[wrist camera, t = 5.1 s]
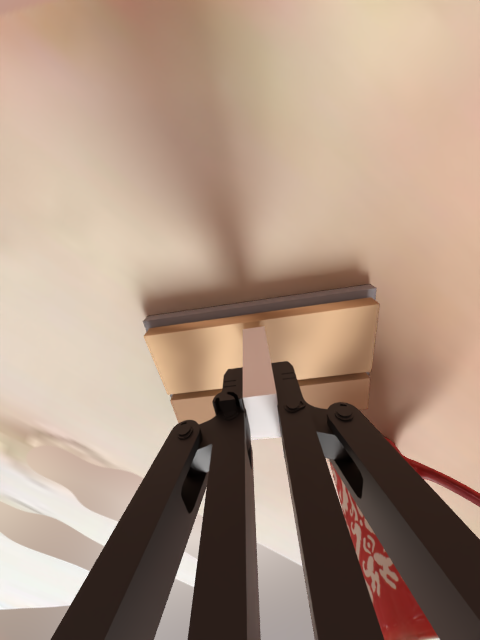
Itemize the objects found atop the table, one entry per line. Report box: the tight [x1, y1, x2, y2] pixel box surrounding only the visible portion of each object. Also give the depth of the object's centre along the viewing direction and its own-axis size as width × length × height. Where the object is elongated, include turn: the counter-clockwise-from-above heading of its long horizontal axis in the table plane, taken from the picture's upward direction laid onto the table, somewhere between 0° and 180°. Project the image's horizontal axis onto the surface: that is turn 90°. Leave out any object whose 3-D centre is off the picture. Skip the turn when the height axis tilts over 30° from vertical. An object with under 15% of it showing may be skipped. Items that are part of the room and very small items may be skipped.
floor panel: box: [143, 284, 376, 424], centre depth 21 cm, size 18×11×2 cm, turn 99°
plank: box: [144, 297, 380, 395], centre depth 19 cm, size 17×6×1 cm, turn 99°
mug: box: [330, 437, 480, 640], centre depth 20 cm, size 13×9×14 cm
